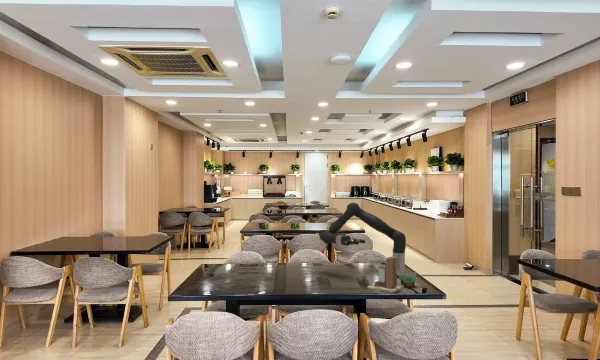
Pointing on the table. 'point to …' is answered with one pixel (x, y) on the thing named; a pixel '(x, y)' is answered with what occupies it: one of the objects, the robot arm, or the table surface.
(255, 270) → the table surface
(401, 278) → the food container
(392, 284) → the wooden backboard stand
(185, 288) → the table surface
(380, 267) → the grey rectangular block
